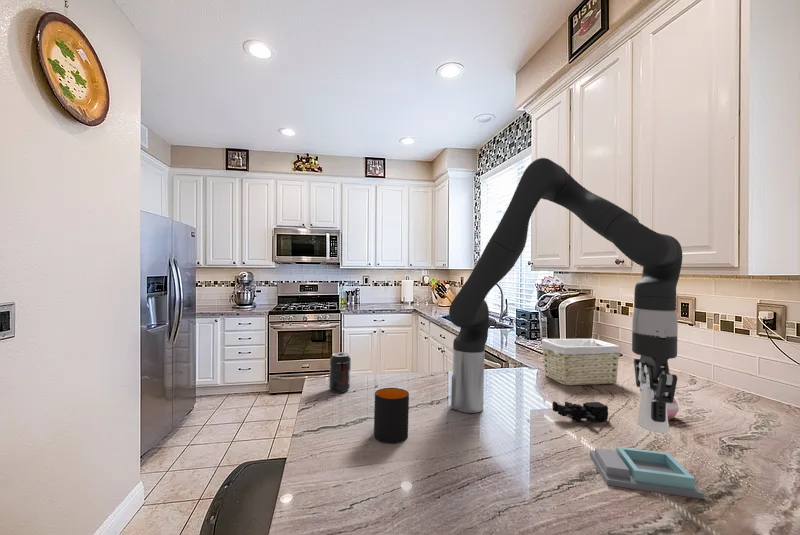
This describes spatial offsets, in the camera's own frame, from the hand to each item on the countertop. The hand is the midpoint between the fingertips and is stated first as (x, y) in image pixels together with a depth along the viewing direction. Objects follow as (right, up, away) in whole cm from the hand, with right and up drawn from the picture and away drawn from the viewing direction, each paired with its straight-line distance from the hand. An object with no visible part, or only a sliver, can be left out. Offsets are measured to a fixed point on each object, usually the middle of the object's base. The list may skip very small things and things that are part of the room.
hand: (652, 416), depth 74 cm
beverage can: (-71, -11, +47) cm, 86 cm away
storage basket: (+18, -14, +68) cm, 71 cm away
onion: (+25, -13, +32) cm, 42 cm away
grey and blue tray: (-2, -12, 0) cm, 12 cm away
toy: (-1, -13, +28) cm, 30 cm away
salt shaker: (0, -2, 0) cm, 2 cm away
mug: (-54, -11, +17) cm, 57 cm away
